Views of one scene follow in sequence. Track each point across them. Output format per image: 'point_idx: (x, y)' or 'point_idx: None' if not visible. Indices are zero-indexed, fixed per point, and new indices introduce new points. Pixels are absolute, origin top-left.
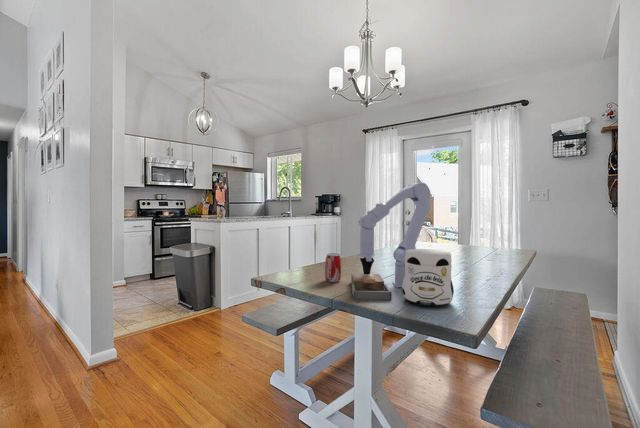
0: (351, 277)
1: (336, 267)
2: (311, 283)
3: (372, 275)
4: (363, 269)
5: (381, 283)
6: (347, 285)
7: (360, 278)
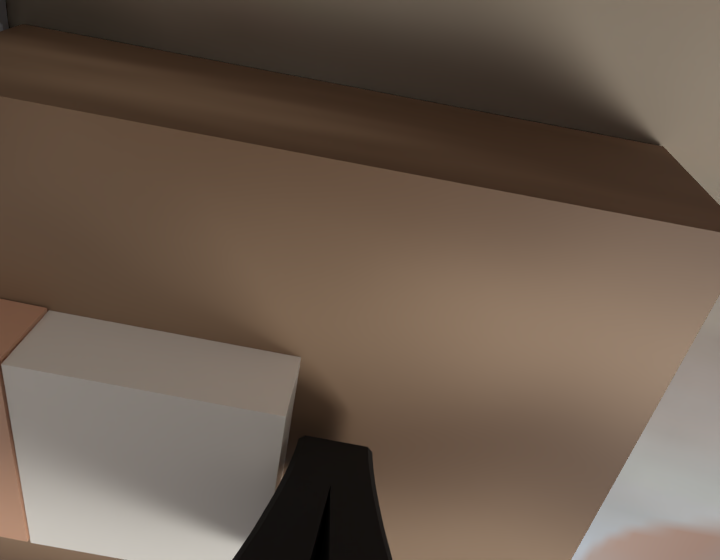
0: (683, 191)
1: None
2: None
3: (115, 546)
4: (243, 547)
5: None
6: (480, 3)
7: (187, 306)
